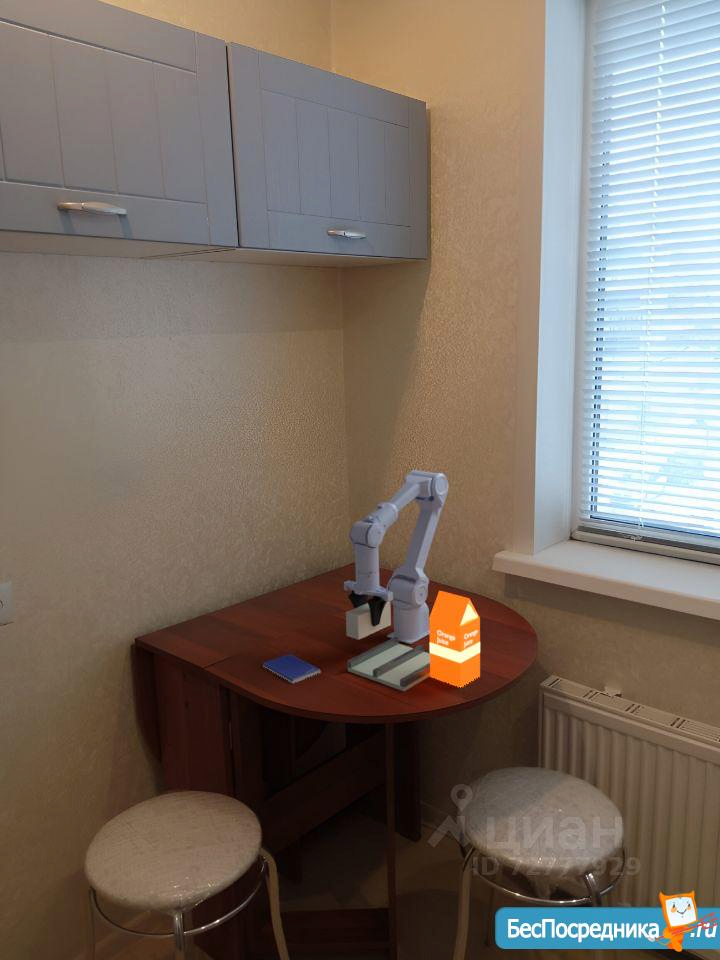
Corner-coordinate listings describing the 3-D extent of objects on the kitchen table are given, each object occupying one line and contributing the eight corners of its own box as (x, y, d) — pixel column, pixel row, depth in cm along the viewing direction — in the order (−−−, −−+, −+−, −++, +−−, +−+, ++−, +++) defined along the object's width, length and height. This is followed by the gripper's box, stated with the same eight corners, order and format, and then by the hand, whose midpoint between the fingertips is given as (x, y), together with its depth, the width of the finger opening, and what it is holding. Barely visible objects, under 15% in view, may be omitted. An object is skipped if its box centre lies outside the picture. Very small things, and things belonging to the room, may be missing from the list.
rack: (395, 646, 193) (395, 637, 192) (450, 664, 182) (450, 654, 181) (347, 670, 180) (347, 661, 179) (404, 691, 169) (404, 681, 168)
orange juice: (450, 665, 181) (449, 586, 177) (480, 676, 175) (480, 594, 171) (429, 677, 175) (428, 595, 171) (460, 688, 169) (459, 603, 165)
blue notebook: (320, 668, 179) (290, 653, 189) (292, 679, 174) (262, 663, 183) (320, 674, 180) (290, 659, 189) (292, 685, 174) (263, 669, 184)
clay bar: (378, 621, 193) (378, 598, 192) (390, 624, 190) (390, 602, 189) (346, 635, 184) (345, 612, 183) (358, 639, 182) (357, 616, 180)
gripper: (334, 568, 186) (336, 620, 189) (378, 579, 177) (380, 634, 179) (354, 561, 191) (355, 612, 194) (398, 572, 182) (399, 625, 184)
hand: (368, 622), depth 187 cm, fingers closed on clay bar, 4 cm apart
